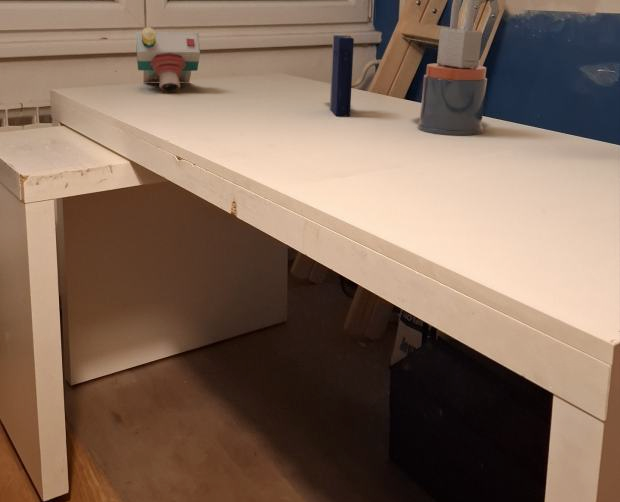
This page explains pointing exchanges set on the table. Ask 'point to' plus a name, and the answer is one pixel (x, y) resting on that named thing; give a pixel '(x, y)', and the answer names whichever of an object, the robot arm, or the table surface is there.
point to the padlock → (460, 40)
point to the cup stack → (453, 100)
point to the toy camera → (167, 57)
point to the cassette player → (341, 75)
